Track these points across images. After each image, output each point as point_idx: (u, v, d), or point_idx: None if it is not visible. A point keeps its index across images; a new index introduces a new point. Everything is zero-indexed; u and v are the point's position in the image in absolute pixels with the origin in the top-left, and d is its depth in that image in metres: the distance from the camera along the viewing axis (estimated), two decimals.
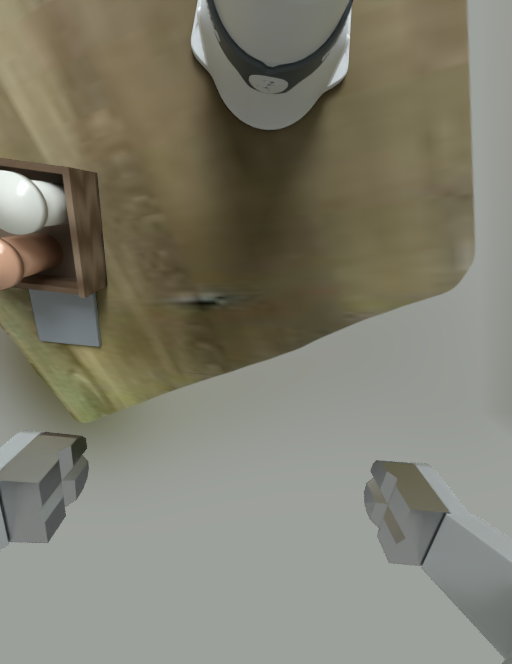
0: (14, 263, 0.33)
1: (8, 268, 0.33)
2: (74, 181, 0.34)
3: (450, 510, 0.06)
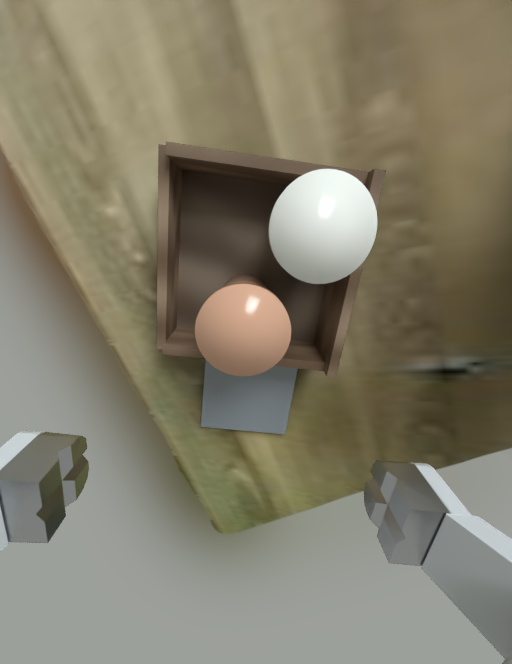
0: (288, 332, 0.19)
1: (275, 341, 0.19)
2: None
3: (450, 510, 0.06)
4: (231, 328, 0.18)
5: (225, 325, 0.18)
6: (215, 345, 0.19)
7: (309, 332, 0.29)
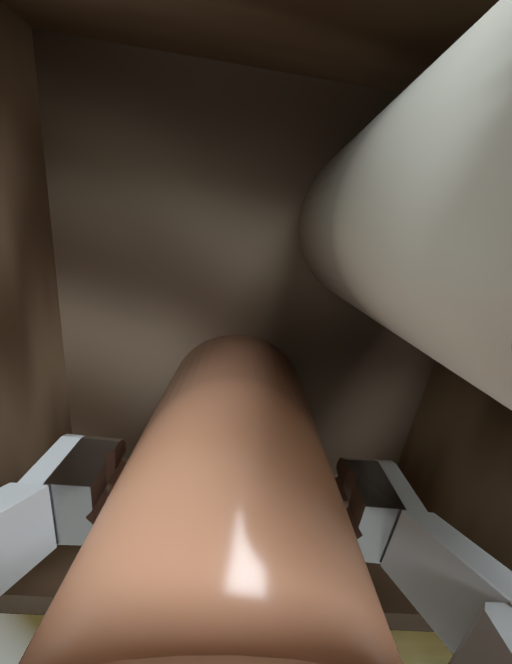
0: None
1: None
2: None
3: (406, 507, 0.06)
4: None
5: None
6: None
7: (385, 459, 0.13)
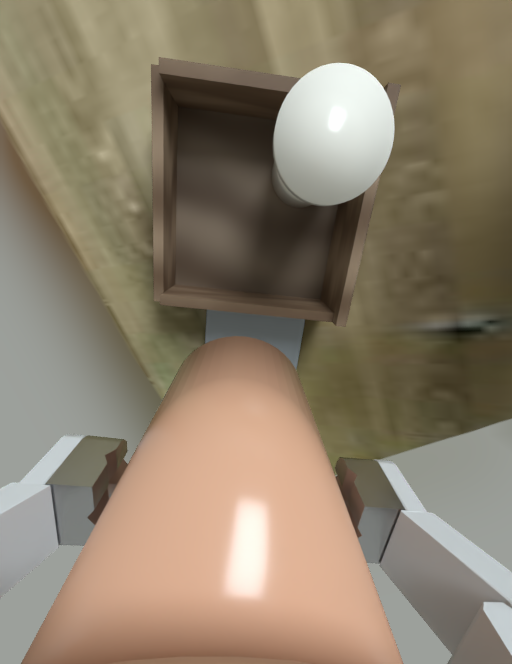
0: None
1: None
2: None
3: (406, 507, 0.06)
4: None
5: None
6: None
7: (315, 287, 0.28)
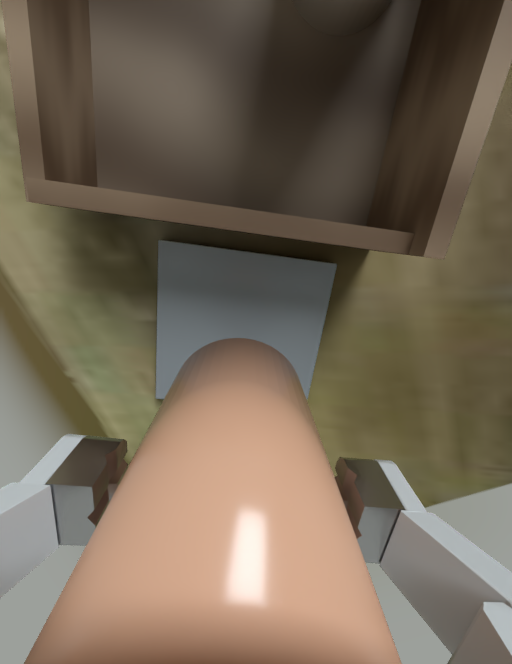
0: None
1: None
2: None
3: (406, 507, 0.06)
4: None
5: None
6: None
7: (357, 210, 0.15)
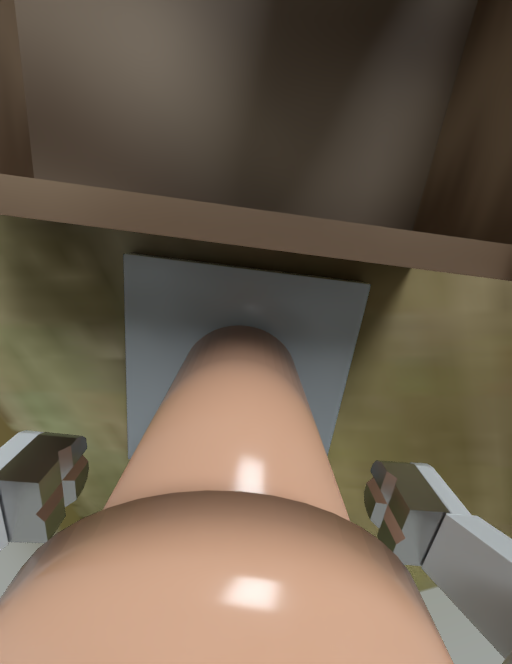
0: None
1: None
2: None
3: (450, 510, 0.06)
4: None
5: None
6: None
7: (401, 210, 0.11)
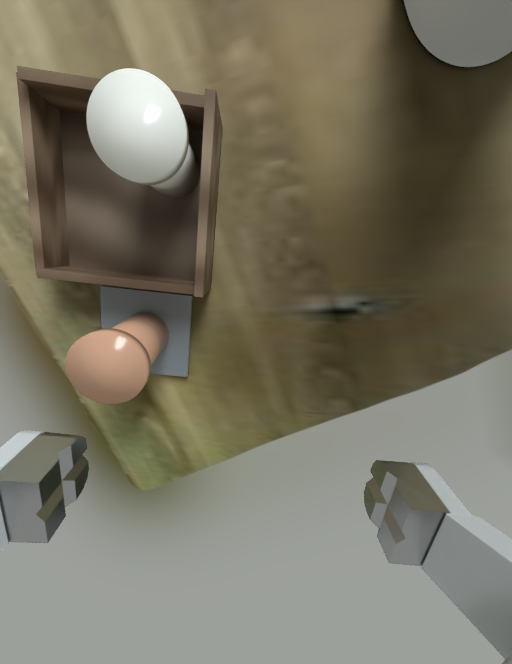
0: (144, 368, 0.23)
1: (134, 375, 0.23)
2: (215, 117, 0.23)
3: (450, 510, 0.06)
4: (96, 366, 0.23)
5: (91, 363, 0.23)
6: (85, 379, 0.23)
7: None
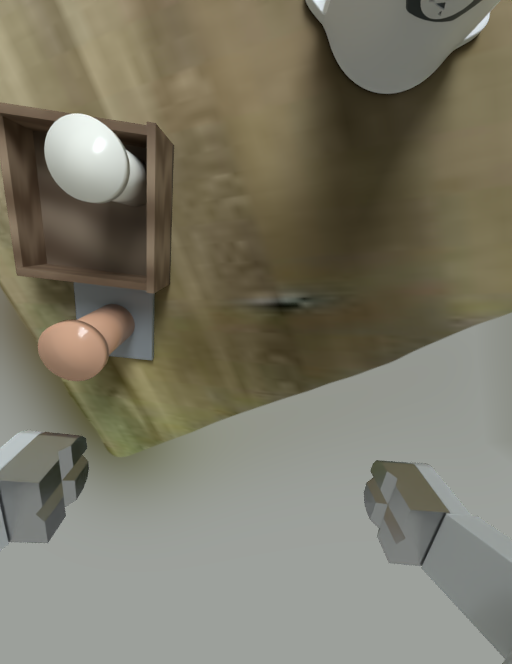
0: (102, 353, 0.28)
1: (94, 358, 0.29)
2: (158, 143, 0.27)
3: (450, 510, 0.06)
4: (62, 350, 0.28)
5: (58, 348, 0.28)
6: (53, 360, 0.29)
7: None
